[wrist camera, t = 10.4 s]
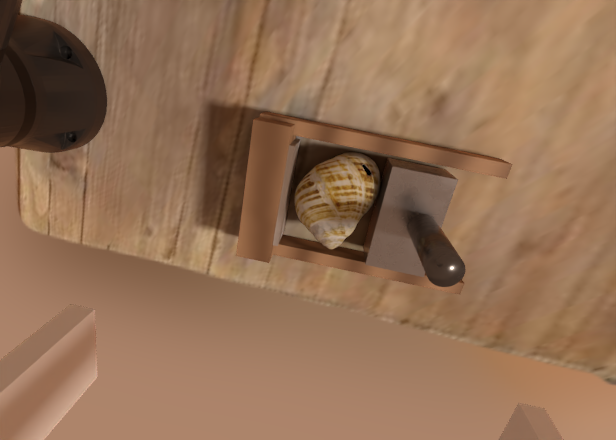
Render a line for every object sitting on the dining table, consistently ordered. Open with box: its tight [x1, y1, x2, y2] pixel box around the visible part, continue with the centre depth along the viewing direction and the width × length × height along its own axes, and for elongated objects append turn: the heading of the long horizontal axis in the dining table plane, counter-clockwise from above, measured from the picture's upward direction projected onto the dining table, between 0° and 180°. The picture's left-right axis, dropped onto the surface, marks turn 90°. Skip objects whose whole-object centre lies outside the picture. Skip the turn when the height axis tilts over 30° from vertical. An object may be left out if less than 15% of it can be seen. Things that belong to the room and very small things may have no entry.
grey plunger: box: [363, 158, 465, 287], centre depth 37 cm, size 7×12×15 cm, turn 169°
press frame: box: [236, 112, 512, 294], centre depth 42 cm, size 28×17×6 cm, turn 79°
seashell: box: [295, 152, 381, 249], centre depth 42 cm, size 10×10×10 cm
